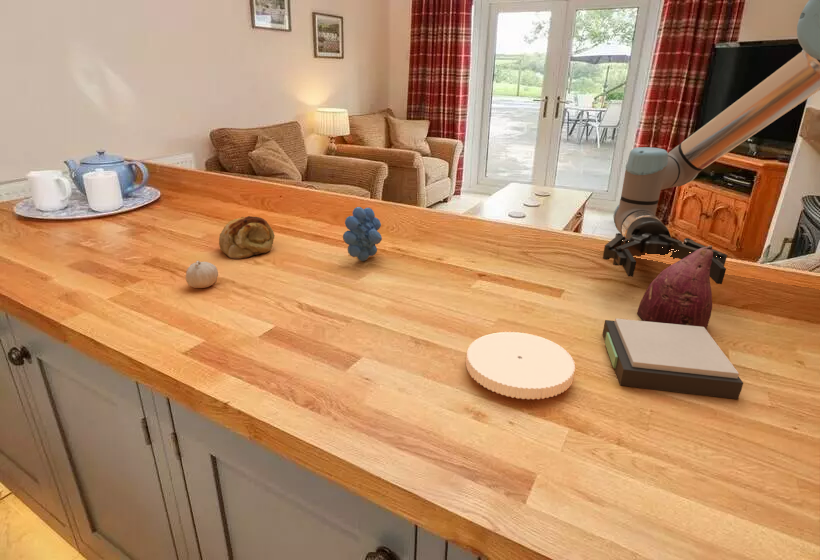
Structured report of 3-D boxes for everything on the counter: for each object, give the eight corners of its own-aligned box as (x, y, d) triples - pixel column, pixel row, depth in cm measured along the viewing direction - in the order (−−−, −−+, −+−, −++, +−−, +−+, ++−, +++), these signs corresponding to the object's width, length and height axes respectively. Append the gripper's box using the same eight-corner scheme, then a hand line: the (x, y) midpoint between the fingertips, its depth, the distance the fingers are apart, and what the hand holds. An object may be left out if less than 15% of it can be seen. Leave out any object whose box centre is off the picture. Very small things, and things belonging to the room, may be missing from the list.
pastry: (248, 263, 102) (244, 225, 99) (204, 253, 107) (198, 217, 104) (291, 243, 114) (288, 209, 111) (249, 236, 119) (245, 203, 115)
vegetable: (699, 332, 84) (749, 254, 78) (696, 352, 75) (752, 266, 69) (638, 303, 88) (682, 227, 82) (629, 318, 79) (677, 234, 73)
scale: (699, 343, 74) (705, 324, 73) (738, 399, 61) (745, 377, 60) (600, 333, 76) (603, 314, 75) (617, 385, 64) (622, 363, 62)
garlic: (203, 294, 87) (199, 267, 85) (180, 289, 89) (175, 262, 87) (226, 282, 93) (223, 256, 90) (204, 277, 94) (200, 252, 92)
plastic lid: (472, 405, 59) (473, 388, 58) (460, 346, 72) (461, 331, 71) (587, 406, 59) (590, 389, 58) (555, 347, 72) (557, 332, 71)
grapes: (362, 273, 97) (361, 215, 93) (336, 266, 101) (334, 209, 96) (395, 257, 106) (396, 202, 102) (370, 251, 110) (370, 198, 105)
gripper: (707, 256, 99) (753, 300, 80) (578, 247, 103) (593, 286, 84) (716, 220, 96) (767, 257, 77) (584, 212, 100) (600, 245, 81)
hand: (676, 272), depth 80 cm, fingers open, 13 cm apart
